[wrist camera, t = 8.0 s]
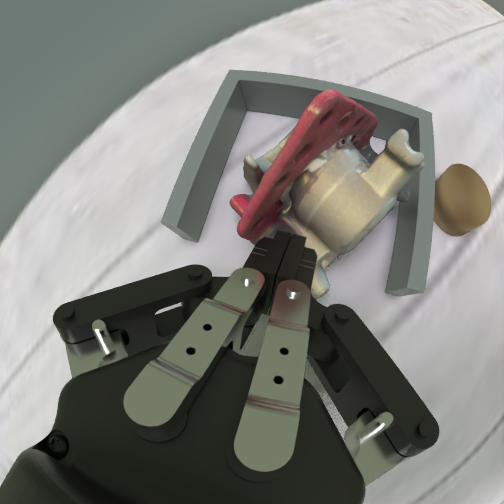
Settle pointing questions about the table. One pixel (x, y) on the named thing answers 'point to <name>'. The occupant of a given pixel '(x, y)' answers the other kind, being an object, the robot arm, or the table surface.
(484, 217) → the tan rounded lump
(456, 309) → the table surface
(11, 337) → the table surface
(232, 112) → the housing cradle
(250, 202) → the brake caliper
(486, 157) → the table surface
